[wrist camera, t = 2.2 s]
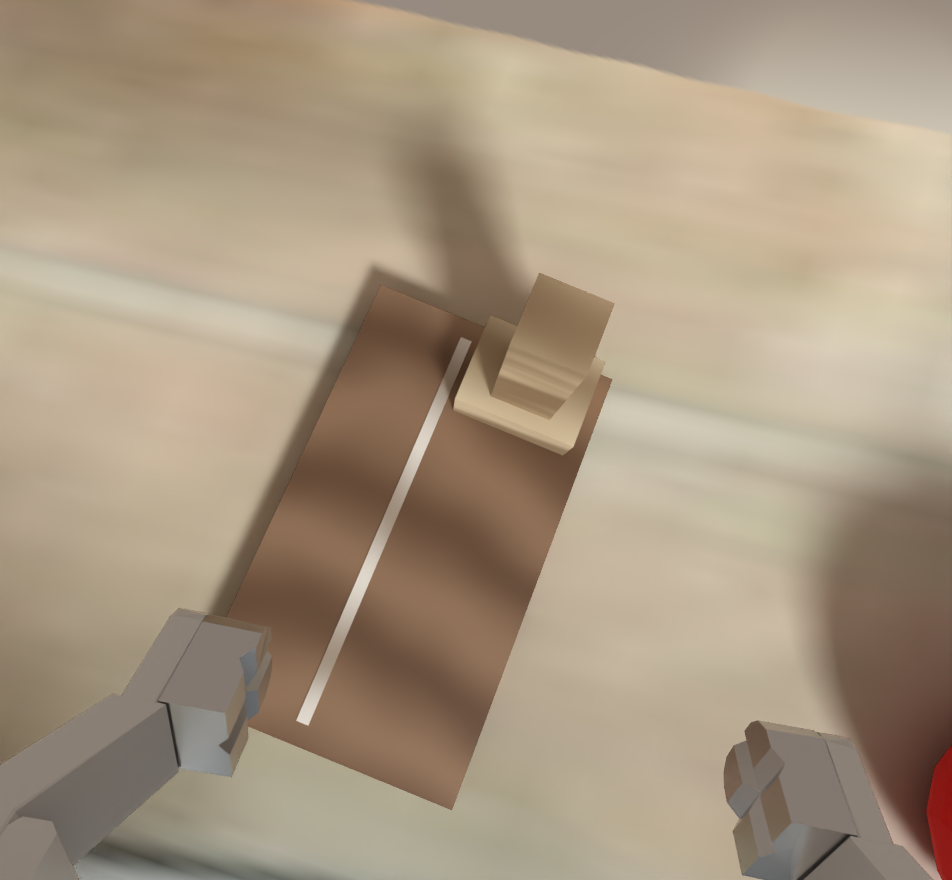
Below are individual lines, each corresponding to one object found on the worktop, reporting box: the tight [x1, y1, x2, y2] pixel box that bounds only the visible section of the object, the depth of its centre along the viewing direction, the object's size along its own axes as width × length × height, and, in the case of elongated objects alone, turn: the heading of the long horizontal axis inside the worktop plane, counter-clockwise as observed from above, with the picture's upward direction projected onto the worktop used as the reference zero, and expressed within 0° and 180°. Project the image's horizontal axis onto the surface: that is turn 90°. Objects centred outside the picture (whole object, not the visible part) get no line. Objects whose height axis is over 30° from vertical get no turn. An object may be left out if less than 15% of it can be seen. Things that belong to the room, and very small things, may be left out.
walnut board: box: [226, 285, 612, 810], centre depth 33 cm, size 22×13×2 cm, turn 158°
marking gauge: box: [453, 273, 615, 455], centre depth 29 cm, size 4×6×10 cm
